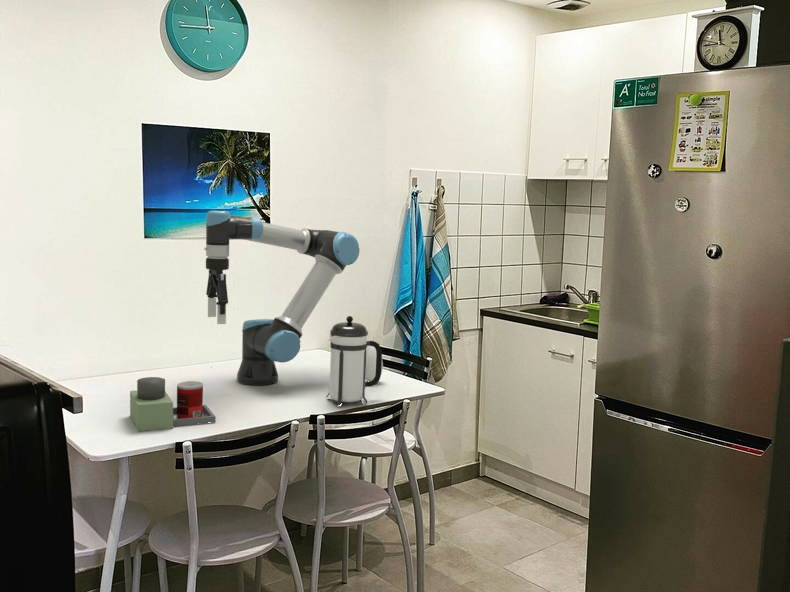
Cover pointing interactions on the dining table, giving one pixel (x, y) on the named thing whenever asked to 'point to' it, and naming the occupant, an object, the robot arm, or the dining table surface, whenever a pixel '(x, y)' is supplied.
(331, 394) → the coffee press
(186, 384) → the canned food
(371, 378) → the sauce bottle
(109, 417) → the dining table surface
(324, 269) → the robot arm
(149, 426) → the capped block with tray
